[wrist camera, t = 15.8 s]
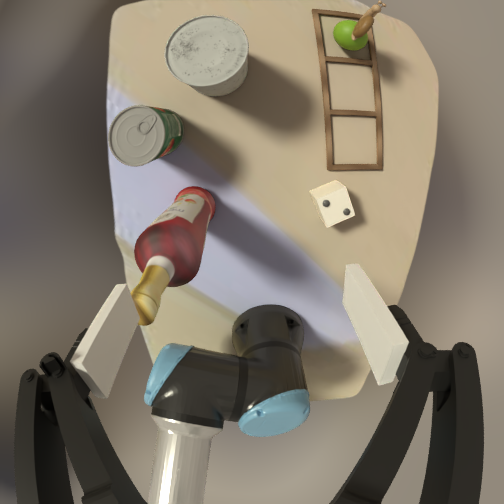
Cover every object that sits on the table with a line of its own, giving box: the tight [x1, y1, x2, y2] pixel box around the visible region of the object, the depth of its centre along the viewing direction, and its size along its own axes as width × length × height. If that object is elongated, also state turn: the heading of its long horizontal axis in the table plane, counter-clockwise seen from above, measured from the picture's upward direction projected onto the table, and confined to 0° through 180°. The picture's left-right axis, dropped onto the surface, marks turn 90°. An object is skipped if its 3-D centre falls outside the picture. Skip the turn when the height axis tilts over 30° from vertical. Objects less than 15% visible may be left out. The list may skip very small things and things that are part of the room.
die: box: [309, 180, 355, 228], centre depth 42 cm, size 5×5×5 cm
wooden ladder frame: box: [312, 9, 382, 170], centre depth 36 cm, size 28×10×1 cm, turn 5°
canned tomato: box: [108, 105, 184, 166], centre depth 34 cm, size 8×8×11 cm
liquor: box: [130, 186, 215, 326], centre depth 32 cm, size 7×7×28 cm
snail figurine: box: [333, 1, 386, 50], centre depth 27 cm, size 5×6×12 cm
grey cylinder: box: [164, 15, 249, 96], centre depth 29 cm, size 10×10×12 cm
